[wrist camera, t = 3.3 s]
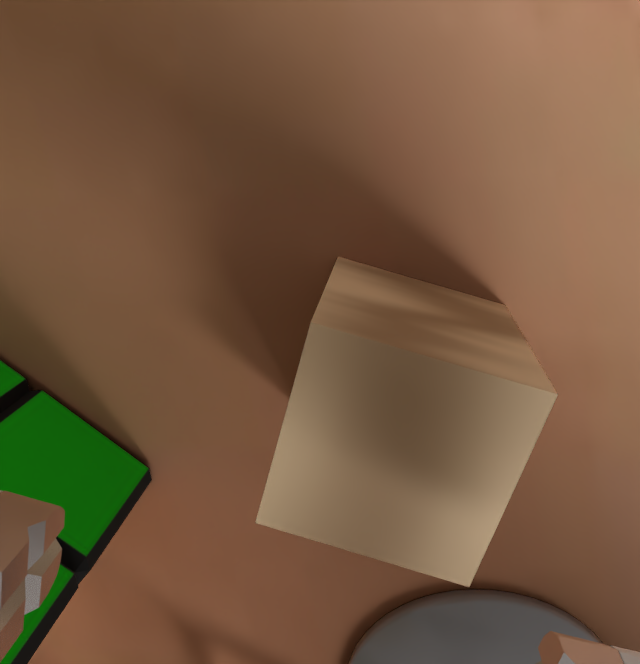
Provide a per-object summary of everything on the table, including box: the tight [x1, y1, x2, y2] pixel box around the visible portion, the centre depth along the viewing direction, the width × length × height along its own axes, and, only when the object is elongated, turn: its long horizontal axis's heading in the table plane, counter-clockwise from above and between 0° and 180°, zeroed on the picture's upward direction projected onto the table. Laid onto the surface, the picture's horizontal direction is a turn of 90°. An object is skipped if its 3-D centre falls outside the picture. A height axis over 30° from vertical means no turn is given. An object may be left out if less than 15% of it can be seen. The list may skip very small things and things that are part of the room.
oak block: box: [255, 256, 558, 587], centre depth 15 cm, size 5×5×6 cm
